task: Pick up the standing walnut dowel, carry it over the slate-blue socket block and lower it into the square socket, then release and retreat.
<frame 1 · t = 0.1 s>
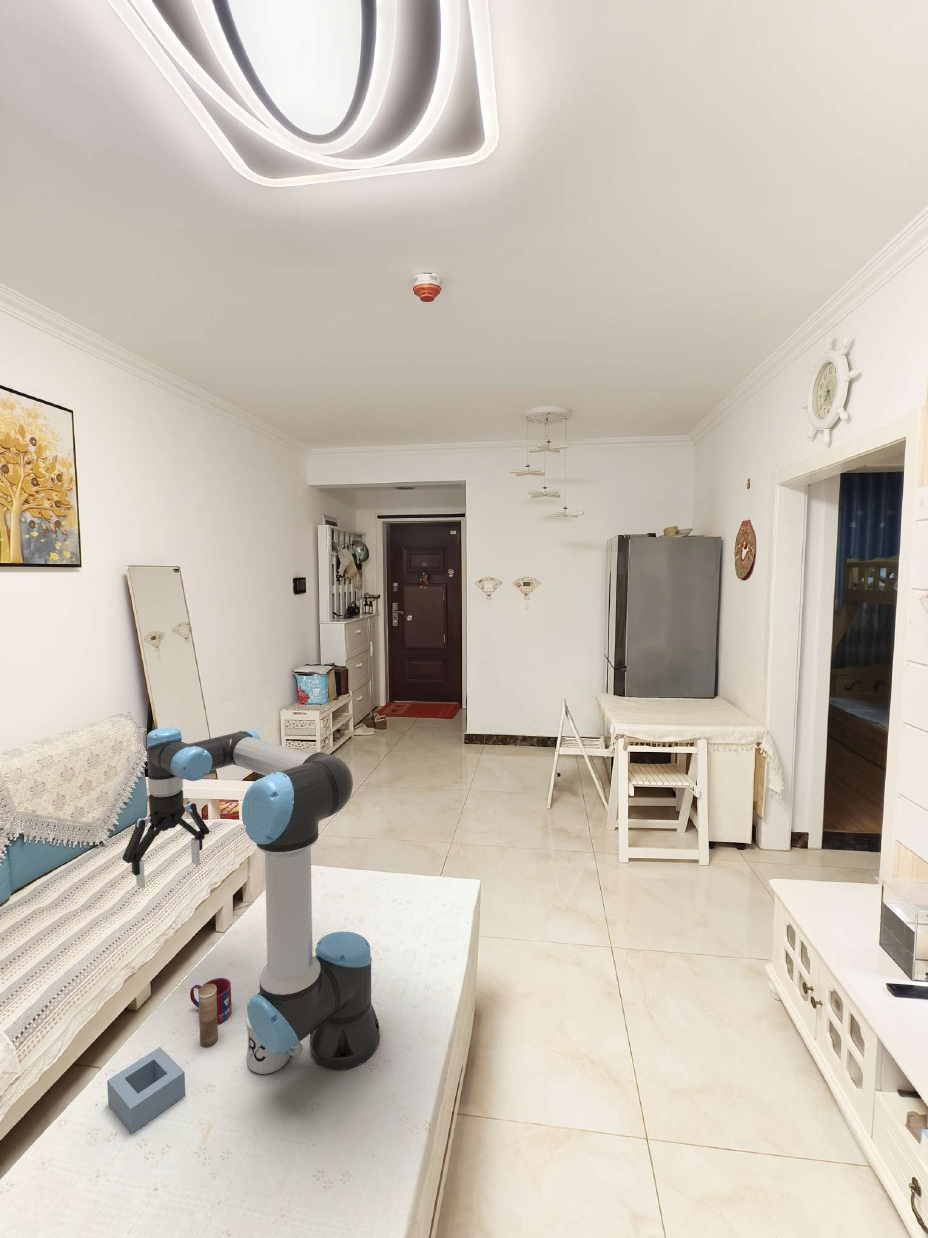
hand: (169, 874, 145), 28 cm above the table, fingers open, 13 cm apart
cup: (210, 1014, 136), on the table
mug: (276, 1060, 123), on the table
dowel: (209, 1041, 128), on the table
socket block: (147, 1100, 114), on the table
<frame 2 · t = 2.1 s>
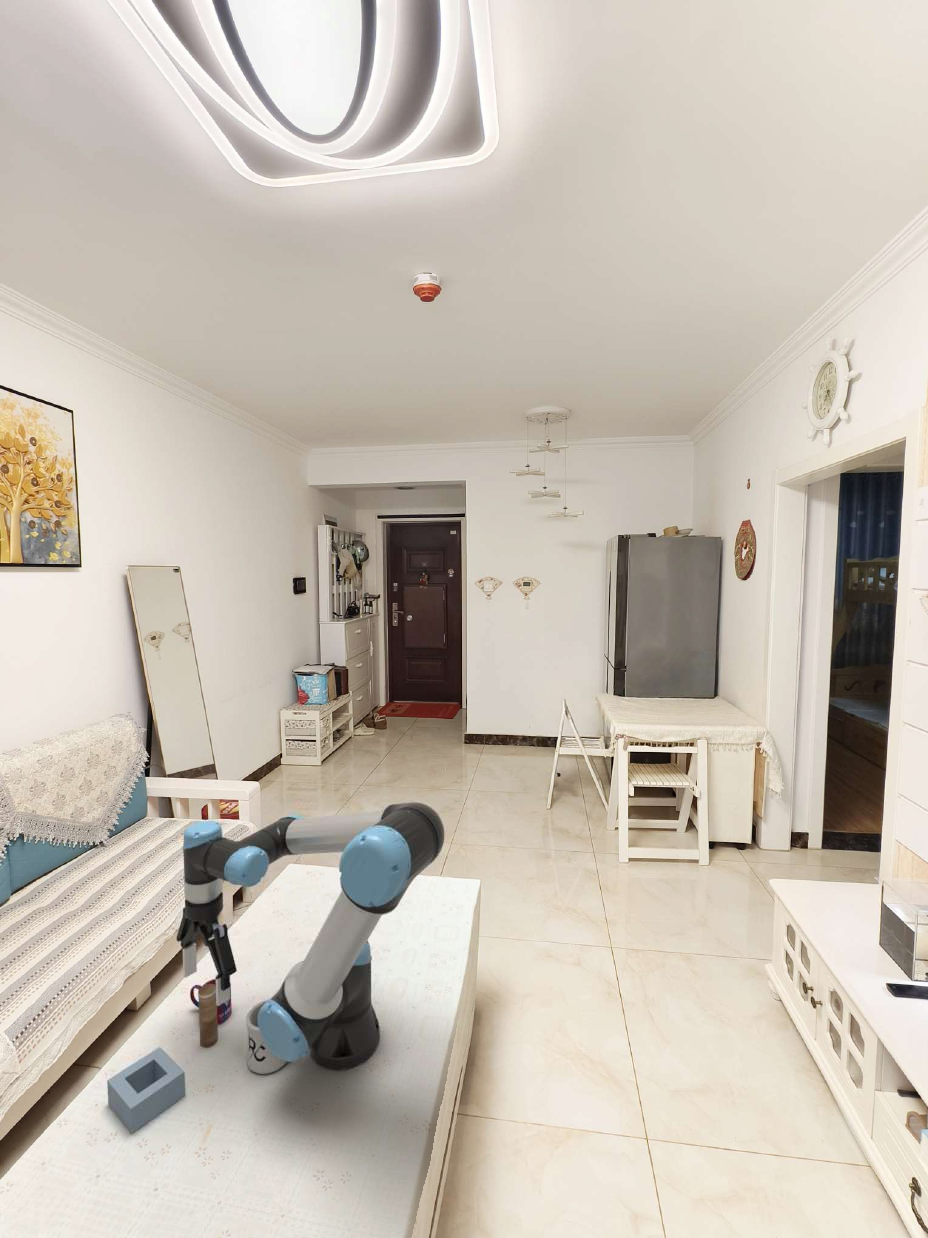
hand: (206, 987, 127), 12 cm above the table, fingers open, 13 cm apart
nothing on the table moved.
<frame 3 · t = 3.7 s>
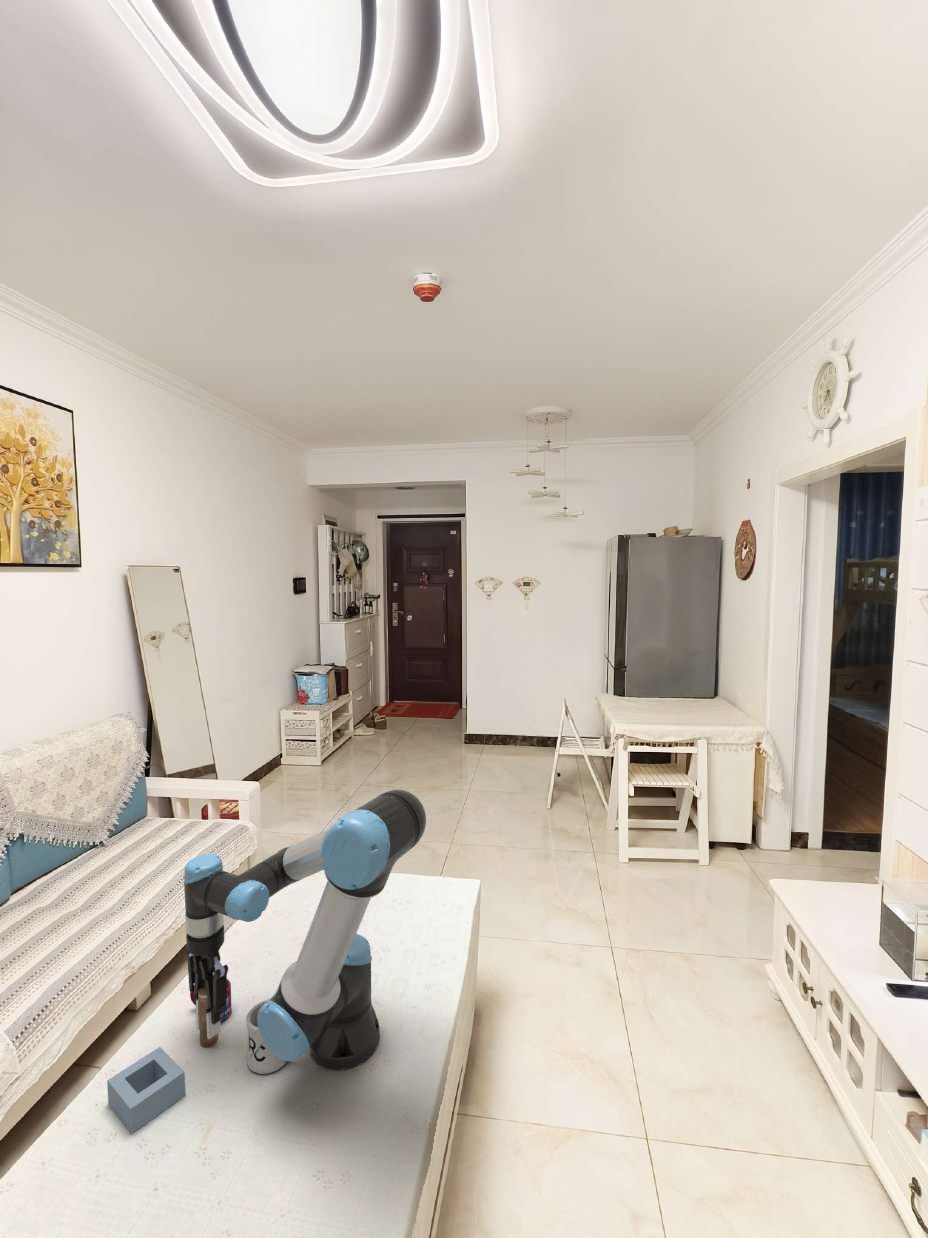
hand: (208, 1030, 128), 3 cm above the table, fingers closed on dowel, 3 cm apart
dowel: (209, 1041, 128), on the table, touching gripper
everything else where it was.
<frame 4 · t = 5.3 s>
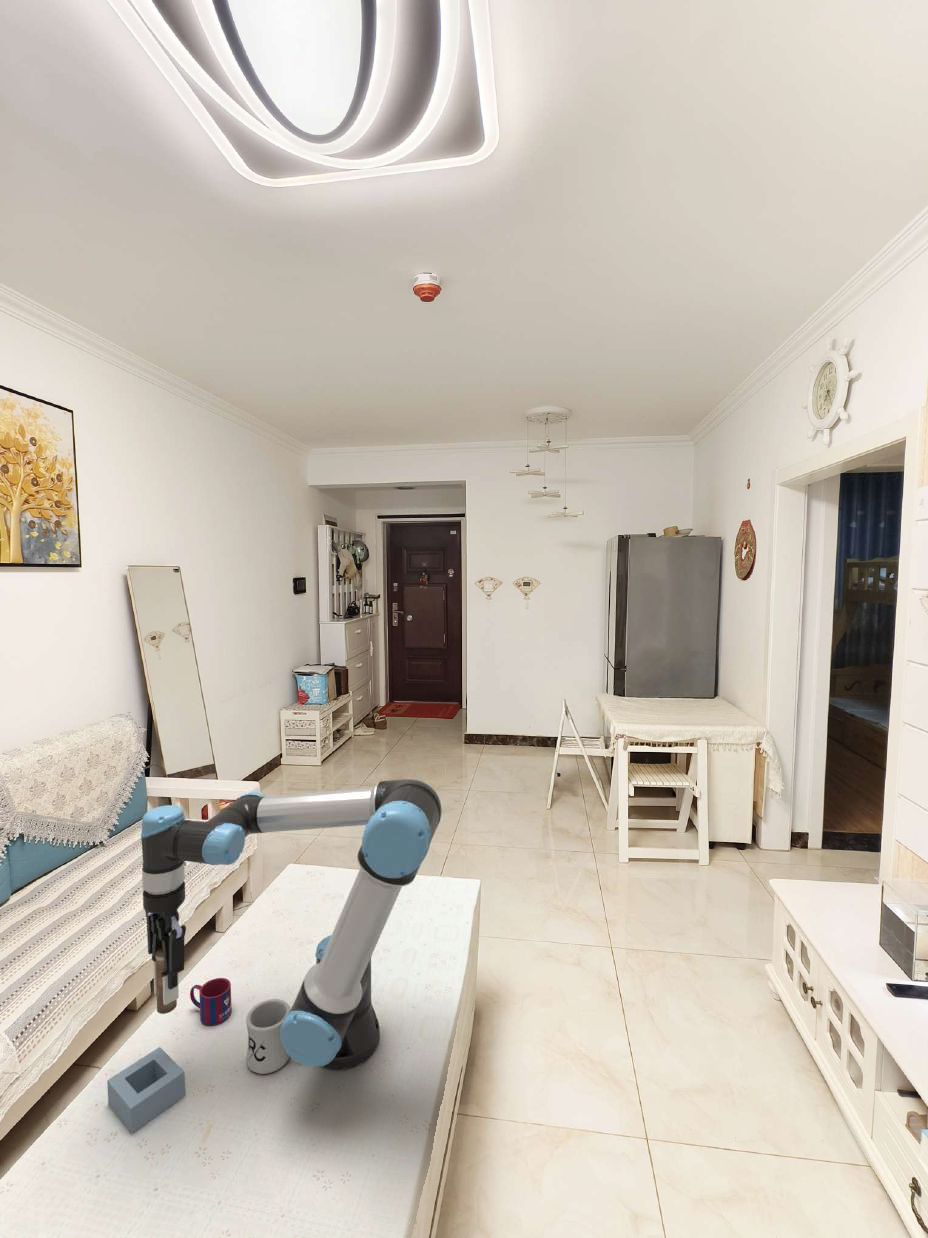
hand: (166, 995, 118), 17 cm above the table, fingers closed on dowel, 3 cm apart
dowel: (166, 1007, 118), point 15 cm above the table, touching gripper
everything else where it was.
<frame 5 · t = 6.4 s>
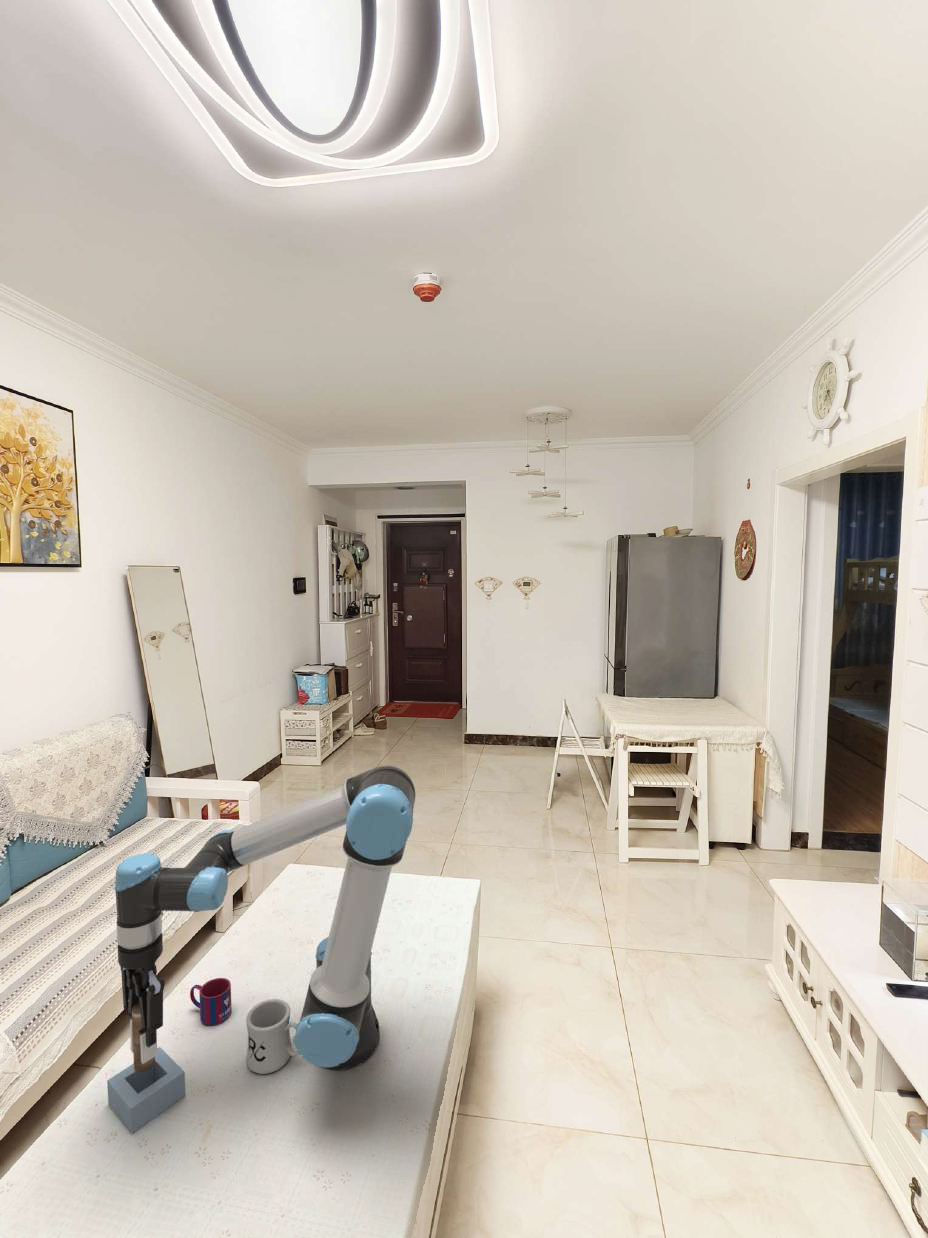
hand: (144, 1052, 113), 10 cm above the table, fingers closed on dowel, 3 cm apart
dowel: (144, 1065, 113), point 7 cm above the table, touching gripper
everything else where it was.
when the fingers open (7 cm above the table, at t = 7.2 s): dowel drops 4 cm, resting in socket block.
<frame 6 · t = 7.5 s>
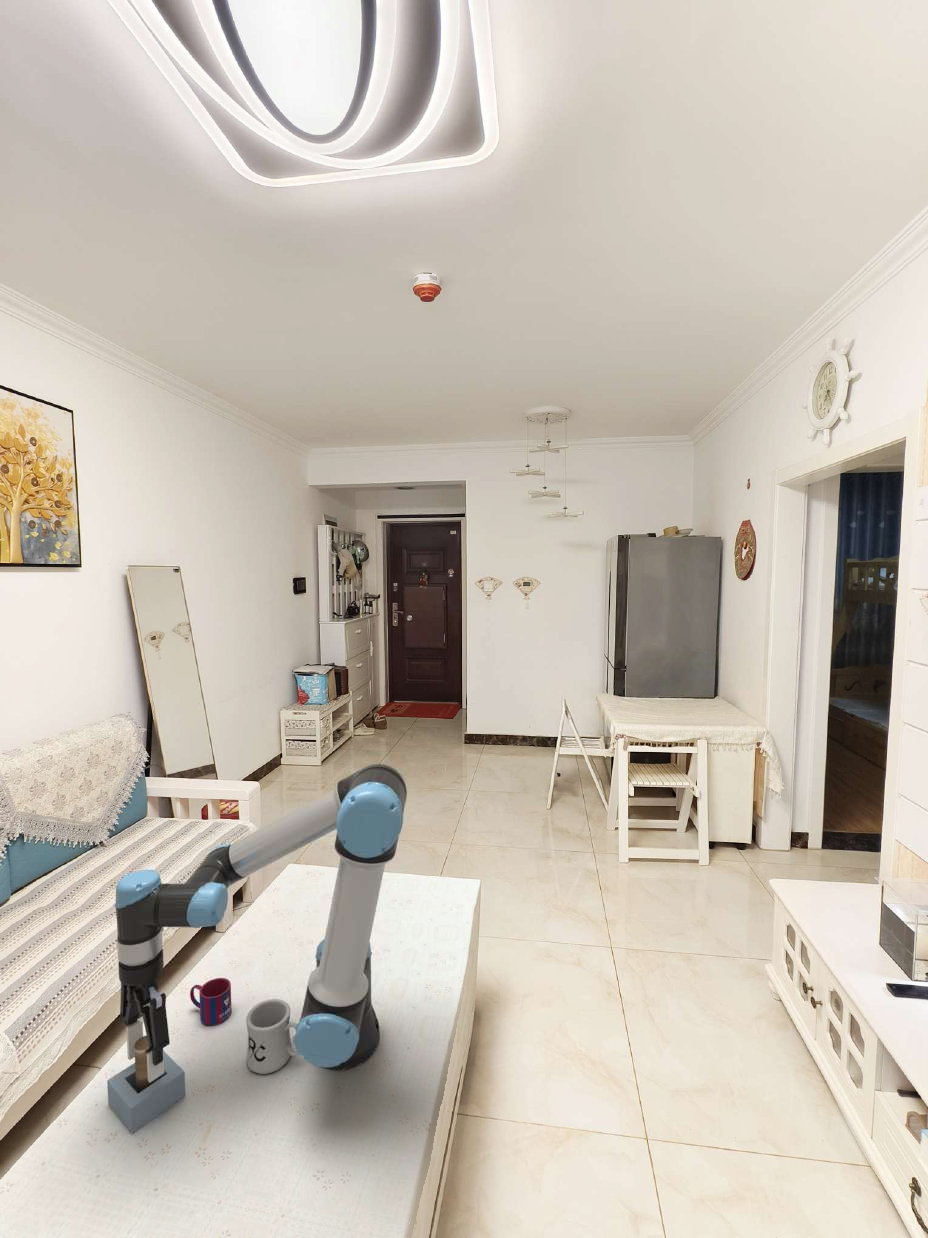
hand: (145, 1065, 113), 7 cm above the table, fingers open, 8 cm apart
dowel: (147, 1100, 114), resting in socket block
everything else where it was.
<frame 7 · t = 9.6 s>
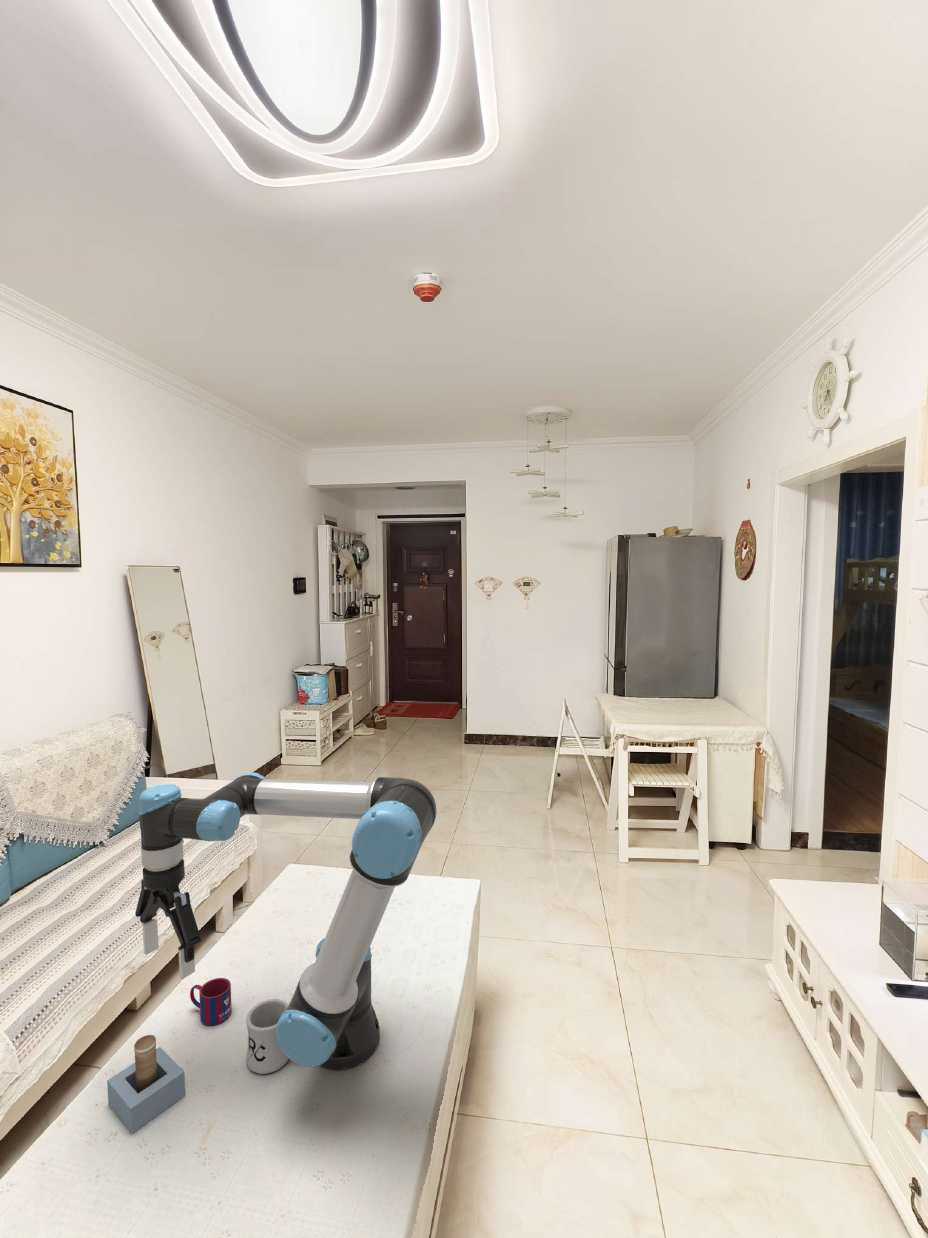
hand: (168, 962, 119), 23 cm above the table, fingers open, 13 cm apart
nothing on the table moved.
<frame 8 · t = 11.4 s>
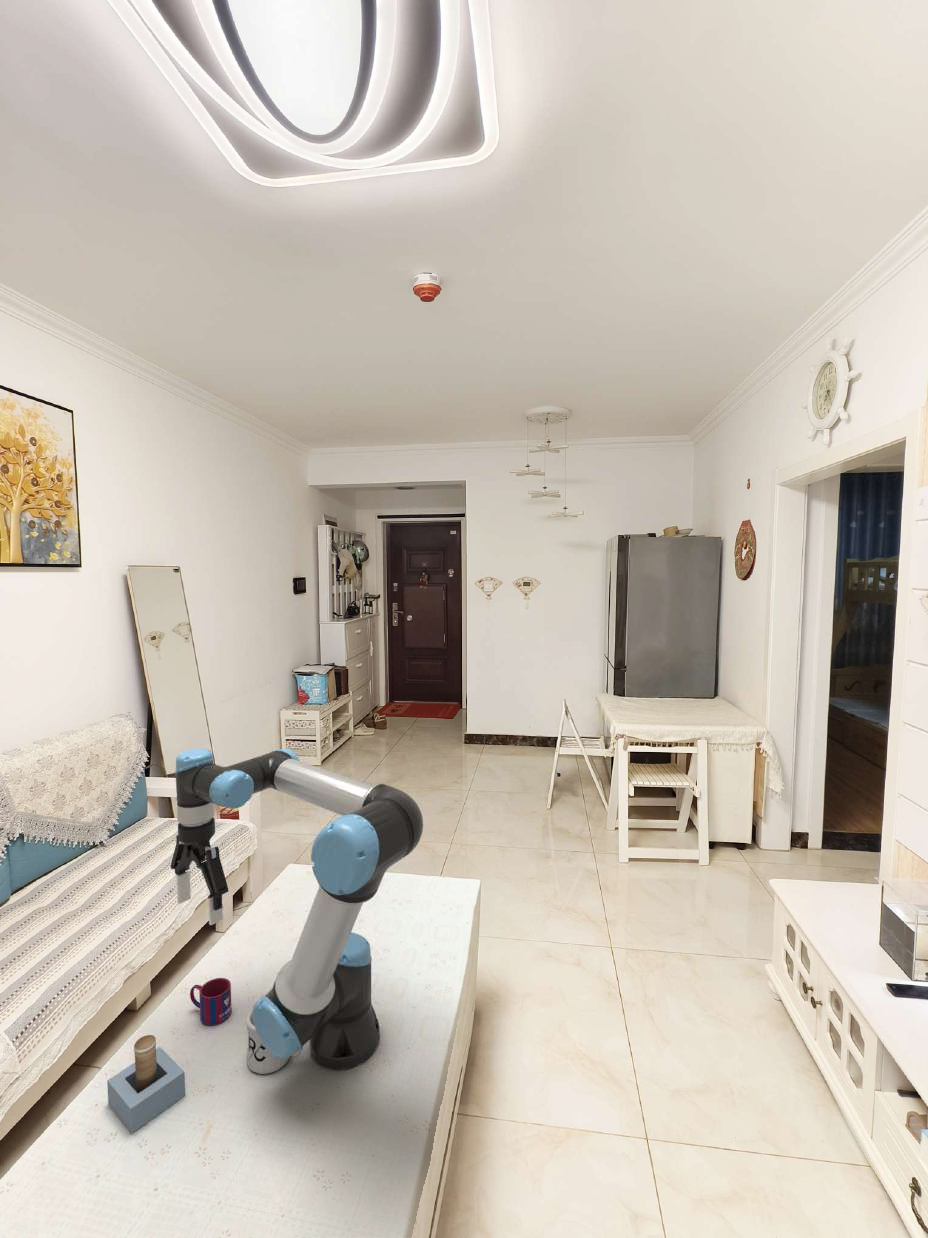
hand: (199, 911, 131), 27 cm above the table, fingers open, 13 cm apart
nothing on the table moved.
at the end: dowel 0.0 cm off-centre on the socket block, point 0.0 cm above the socket block's base; dowel tilted 0°; the gripper is holding nothing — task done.
